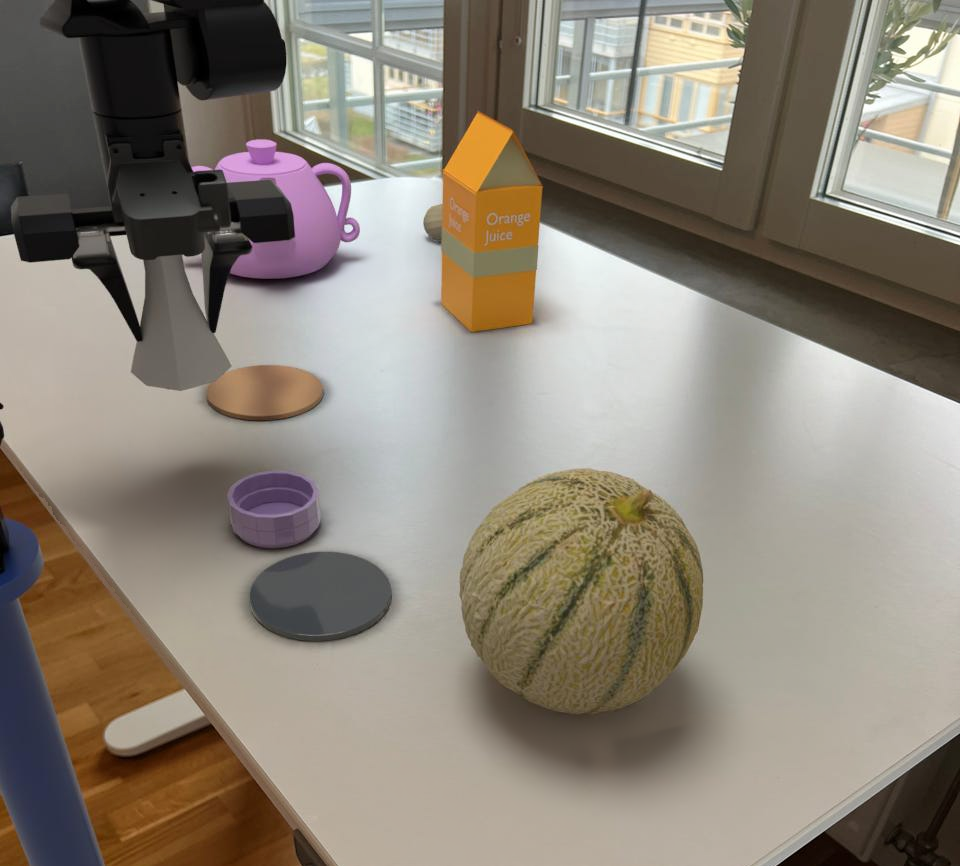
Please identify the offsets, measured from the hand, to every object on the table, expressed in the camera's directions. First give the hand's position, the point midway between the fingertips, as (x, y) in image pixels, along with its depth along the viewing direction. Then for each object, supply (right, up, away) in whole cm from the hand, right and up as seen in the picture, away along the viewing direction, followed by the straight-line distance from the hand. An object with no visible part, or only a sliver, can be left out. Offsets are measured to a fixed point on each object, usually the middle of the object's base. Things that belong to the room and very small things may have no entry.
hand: (175, 335), depth 76 cm
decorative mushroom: (+22, +28, +54) cm, 64 cm away
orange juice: (+24, +14, +37) cm, 46 cm away
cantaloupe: (+29, -26, -11) cm, 41 cm away
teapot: (-2, +22, +45) cm, 50 cm away
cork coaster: (+3, 0, +19) cm, 20 cm away
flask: (0, -2, +2) cm, 3 cm away
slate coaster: (+12, -20, -5) cm, 24 cm away
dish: (+7, -14, +2) cm, 16 cm away
